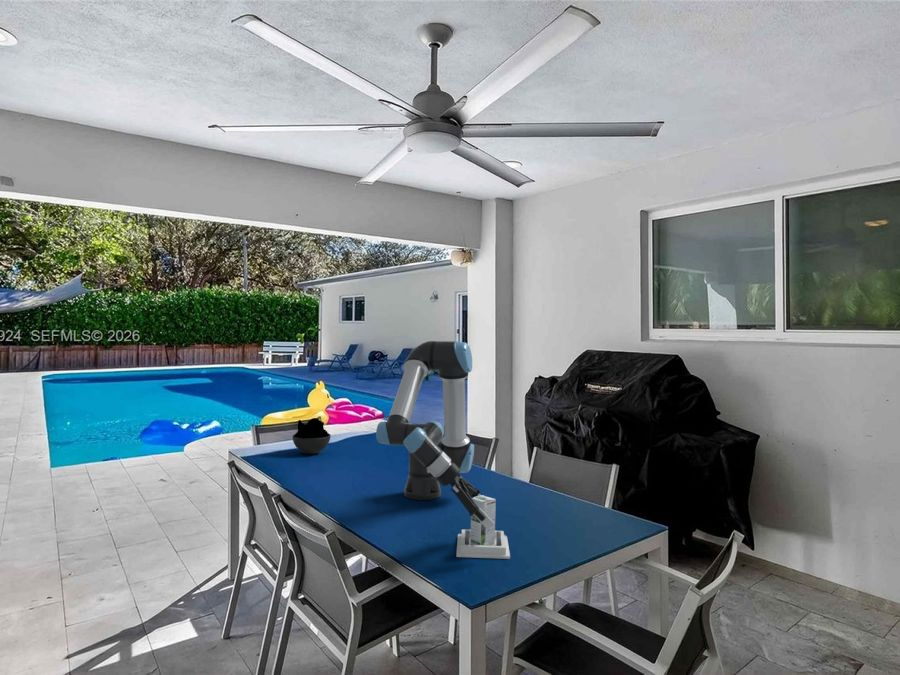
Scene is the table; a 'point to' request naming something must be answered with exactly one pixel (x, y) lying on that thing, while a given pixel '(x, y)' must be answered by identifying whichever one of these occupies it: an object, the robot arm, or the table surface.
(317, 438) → the coal bowl
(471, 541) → the syrup box
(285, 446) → the table surface
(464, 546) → the tray
